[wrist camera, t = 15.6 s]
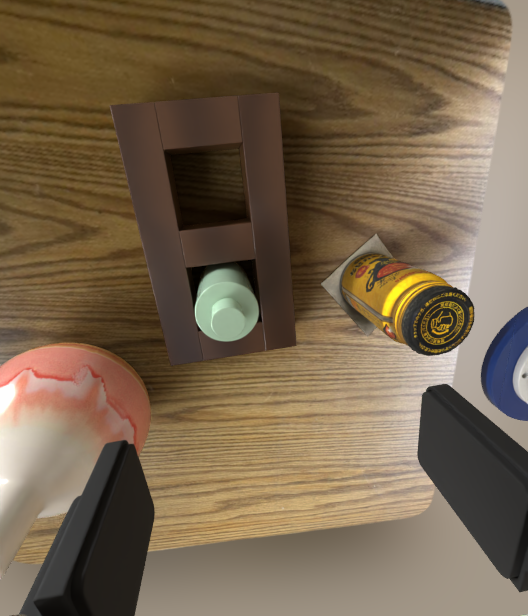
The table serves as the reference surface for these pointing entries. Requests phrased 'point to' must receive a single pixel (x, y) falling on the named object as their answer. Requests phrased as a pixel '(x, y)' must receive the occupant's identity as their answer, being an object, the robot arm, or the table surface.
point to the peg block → (216, 235)
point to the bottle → (225, 302)
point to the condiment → (401, 300)
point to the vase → (60, 429)
